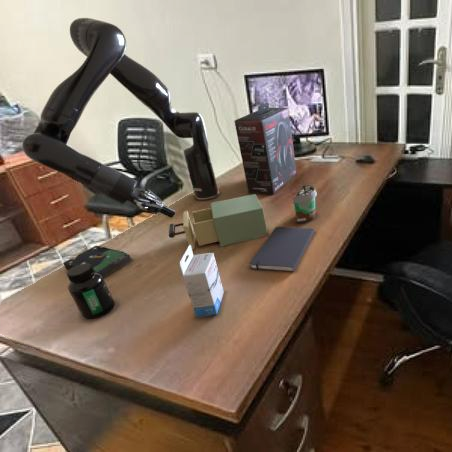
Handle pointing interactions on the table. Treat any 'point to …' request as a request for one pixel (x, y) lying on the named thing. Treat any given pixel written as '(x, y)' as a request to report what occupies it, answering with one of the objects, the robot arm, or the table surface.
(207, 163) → the robot arm
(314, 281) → the table surface
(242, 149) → the headset box
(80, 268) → the supplement bottle
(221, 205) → the cabinet
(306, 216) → the food container
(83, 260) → the disk drive
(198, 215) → the drawer
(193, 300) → the ink box
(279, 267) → the notebook
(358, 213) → the table surface
